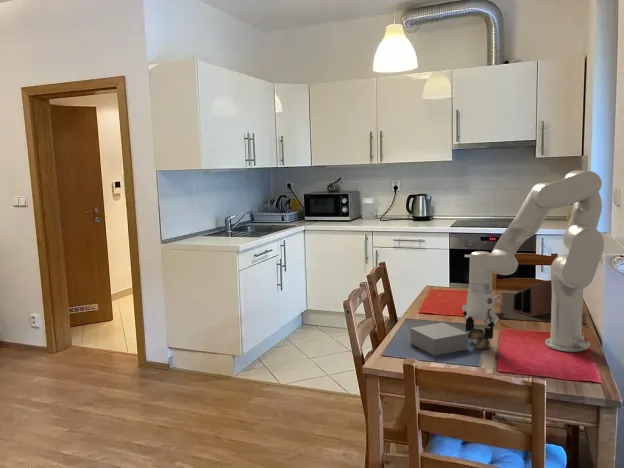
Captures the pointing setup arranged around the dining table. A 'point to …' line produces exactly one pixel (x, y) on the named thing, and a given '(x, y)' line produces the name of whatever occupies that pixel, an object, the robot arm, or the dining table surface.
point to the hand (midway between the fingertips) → (478, 334)
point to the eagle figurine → (478, 339)
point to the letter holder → (534, 299)
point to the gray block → (439, 338)
